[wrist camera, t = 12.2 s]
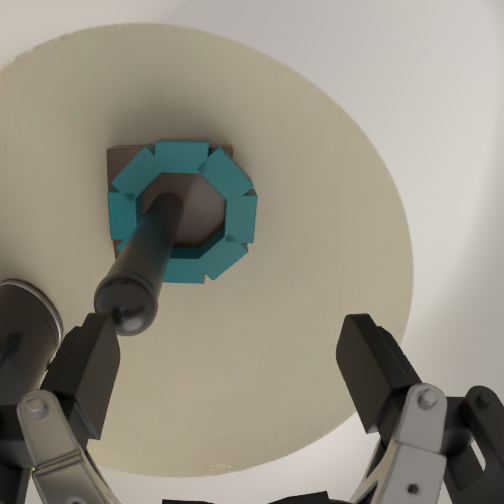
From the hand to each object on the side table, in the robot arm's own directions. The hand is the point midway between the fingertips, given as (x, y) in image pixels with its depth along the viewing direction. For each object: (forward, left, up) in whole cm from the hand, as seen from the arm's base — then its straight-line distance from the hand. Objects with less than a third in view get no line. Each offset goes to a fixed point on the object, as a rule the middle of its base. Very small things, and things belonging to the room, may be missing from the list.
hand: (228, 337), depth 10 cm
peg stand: (-4, 0, -15) cm, 16 cm away
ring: (-3, 0, -14) cm, 14 cm away
